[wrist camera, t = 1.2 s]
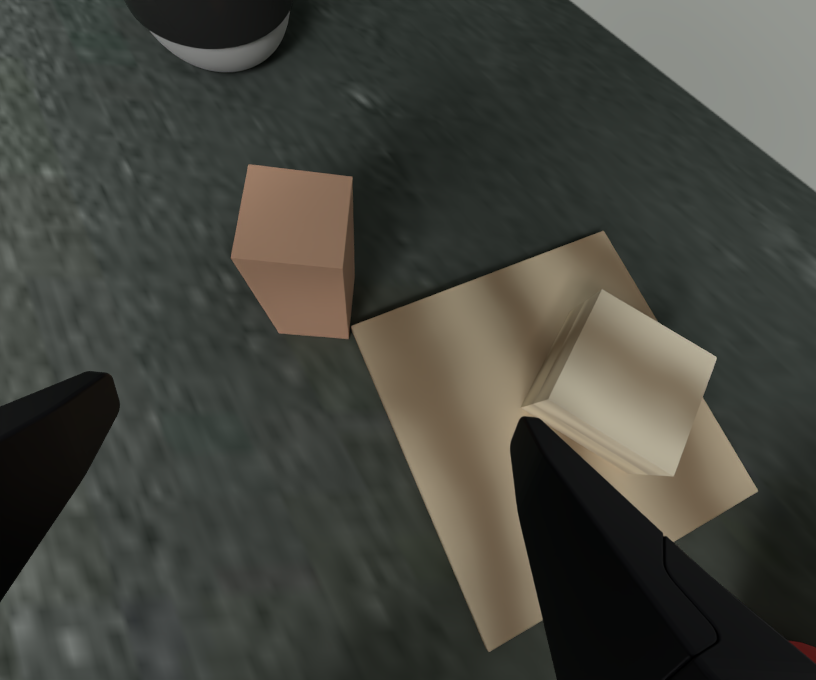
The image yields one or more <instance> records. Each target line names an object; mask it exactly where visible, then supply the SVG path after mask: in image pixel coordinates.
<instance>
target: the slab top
mask: <svg viewBox="0 0 816 680" xmlns="http://www.w3.org/2000/svg"><path fill="white" fill-rule="evenodd" d="M716 359H717V357H715V356H714V355H712V354H710V353H709V352H707V351H705V350H704V349H702V348H700V347H699V346H697V345H695V344H694V343H692V342H690V341H689V340H687V339H685V338H683V337H682V336H680V335H678V334H677V333H675V332H673V331H672V330H670V329H668V328H667V327H665V326H663V325H662V324H660V323H658V322H657V321H655V320H653V319H651V318H650V317H648V316H646V315H645V314H643V313H641V312H640V311H638V310H636V309H635V308H633V307H631V306H630V305H628V304H626V303H625V302H623V301H621V300H619V299H618V298H616V297H614V296H613V295H611V294H609V293H608V292H606V291H604V290H603V289H602V290H600V291H599V292H597V293H596V294H594V295H593V296H592V297H590V298H589V299H587V300H586V301H585V302H584V304H583V306H582V308H581V310H580V312H579V314H578V316H577V318H576V320H575V322H574V324H573V326H572V328H571V330H570V332H569V334H568V336H567V338H566V340H565V342H564V344H563V346H562V348H561V350H560V352H559V354H558V356H557V358H556V360H555V362H554V364H553V366H552V368H551V370H550V372H549V374H548V376H547V378H546V380H545V382H544V384H543V386H542V388H541V390H540V392H539V394H538V396H537V397H536V399H535V401H534V403H533V404H534V405H536V406H537V407H539V408H541V409H542V410H544V411H546V412H547V413H549V414H550V415H552V416H554V417H555V418H557V419H559V420H560V421H562V422H563V423H565V424H567V425H568V426H570V427H572V428H573V429H575V430H576V431H578V432H580V433H581V434H583V435H585V436H586V437H588V438H589V439H591V440H593V441H594V442H596V443H598V444H599V445H601V446H602V447H604V448H606V449H607V450H609V451H611V452H612V453H614V454H616V455H617V456H619V457H620V458H622V459H624V460H625V461H627V462H629V463H630V464H632V465H633V466H635V467H637V468H638V469H640V470H642V471H643V472H645V473H646V474H648V475H657V476H674V474H675V472H676V469H677V466H678V463H679V461H680V458H681V455H682V452H683V450H684V447H685V444H686V442H687V439H688V436H689V433H690V431H691V428H692V425H693V422H694V420H695V417H696V414H697V411H698V409H699V406H700V403H701V400H702V398H703V395H704V392H705V389H706V387H707V384H708V381H709V378H710V376H711V373H712V370H713V368H714V365H715V362H716Z"/></svg>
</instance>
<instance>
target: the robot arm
mask: <svg viewBox="0 0 816 680" xmlns="http://www.w3.org/2000/svg"><path fill="white" fill-rule="evenodd" d="M119 408H120V402H119V398H118V394H117V391H116V387H115V384H114V381H113V378H112V376H111V375H110V374H108V373H104V372H94V371H87V372H84V373H81V374H79V375H77V376H74V377H72V378H69V379H67V380H64V381H62V382H59V383H57V384H54V385H52V386H50V387H47V388H45V389H42V390H40V391H37V392H35V393H32V394H30V395H27V396H25V397H23V398H20V399H18V400H15V401H13V402H10V403H8V404H5V405H3V406H0V602H1V600H2V599H3V597H4V596H5V594H6V593H7V591H8V590H9V588H10V587H11V585H12V584H13V582H14V581H15V579H16V578H17V576H18V575H19V573H20V572H21V570H22V569H23V567H24V566H25V564H26V563H27V562H28V560H29V559H30V557H31V556H32V554H33V553H34V551H35V550H36V548H37V547H38V545H39V544H40V542H41V541H42V539H43V538H44V536H45V535H46V533H47V532H48V530H49V529H50V527H51V526H52V524H53V523H54V521H55V520H56V518H57V517H58V515H59V514H60V513H61V511H62V510H63V508H64V507H65V505H66V504H67V502H68V501H69V499H70V498H71V496H72V495H73V493H74V492H75V490H76V489H77V487H78V486H79V484H80V483H81V481H82V479H83V478H84V476H85V475H86V473H87V471H88V469H89V468H90V466H91V464H92V462H93V460H94V458H95V456H96V454H97V453H98V451H99V449H100V447H101V445H102V443H103V441H104V439H105V437H106V436H107V434H108V432H109V430H110V428H111V426H112V424H113V422H114V420H115V418H116V417H117V415H118V412H119ZM510 456H511V464H512V472H513V481H514V489H515V497H516V505H517V512H518V517H519V521H520V526H521V530H522V534H523V539H524V543H525V547H526V551H527V555H528V560H529V564H530V568H531V572H532V576H533V581H534V585H535V589H536V593H537V598H538V602H539V606H540V610H541V614H542V619H543V623H544V627H545V631H546V635H547V640H548V644H549V648H550V652H551V656H552V661H553V665H554V669H555V673H556V678H557V680H816V663H815V662H813V661H812V660H811V659H810V658H809V657H807V656H806V655H805V654H804V653H802V652H801V651H800V650H799V649H798V648H796V647H795V646H794V645H793V644H792V643H790V642H789V641H788V640H787V639H786V638H784V637H783V636H782V635H781V634H779V633H778V632H777V631H776V630H775V629H773V628H772V627H771V626H770V625H769V624H767V623H766V622H765V621H764V620H763V619H761V618H760V617H759V616H758V615H756V614H755V613H754V612H753V611H752V610H750V609H749V608H748V607H747V606H746V605H744V604H743V603H742V602H741V601H739V600H738V599H737V598H736V597H735V596H734V595H732V594H731V593H730V592H729V591H728V590H727V589H725V588H724V587H723V586H722V585H721V584H719V583H718V582H717V581H716V580H715V579H714V578H712V577H711V576H710V575H709V574H708V573H707V572H706V571H704V570H703V569H702V568H701V567H700V566H699V565H698V564H697V563H696V562H694V561H693V560H692V559H691V558H690V557H689V556H688V555H687V554H686V553H684V552H683V551H682V550H681V549H680V548H679V547H678V546H677V545H676V544H675V543H674V542H673V541H671V540H670V539H669V538H668V537H667V536H663V532H662V531H661V530H659V529H658V528H657V527H656V526H655V525H654V524H653V523H652V522H651V521H650V520H649V519H648V518H647V517H646V516H644V515H643V514H642V513H641V512H640V511H639V510H638V509H637V508H636V507H635V506H634V505H633V504H632V503H630V502H629V501H628V500H627V499H626V498H625V497H624V496H623V495H622V494H621V493H620V492H619V491H618V490H616V489H615V488H614V487H613V486H612V485H611V484H610V483H609V482H608V481H607V480H606V479H605V478H604V477H603V476H601V475H600V474H599V473H598V472H597V471H596V470H595V469H594V468H593V467H592V466H591V465H590V464H589V463H587V462H586V461H585V460H584V459H583V458H582V457H581V456H580V455H579V454H578V453H577V452H576V451H575V450H573V449H572V448H571V447H570V446H569V445H568V444H567V443H566V442H565V441H564V440H563V439H562V438H561V437H560V436H558V435H557V434H556V433H555V432H554V431H553V430H552V429H551V428H550V427H549V426H548V425H547V424H546V423H544V422H543V421H542V420H541V419H540V418H537V417H529V416H523V417H521V418H520V419H519V421H518V423H517V426H516V429H515V431H514V434H513V437H512V439H511V443H510Z"/></svg>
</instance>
